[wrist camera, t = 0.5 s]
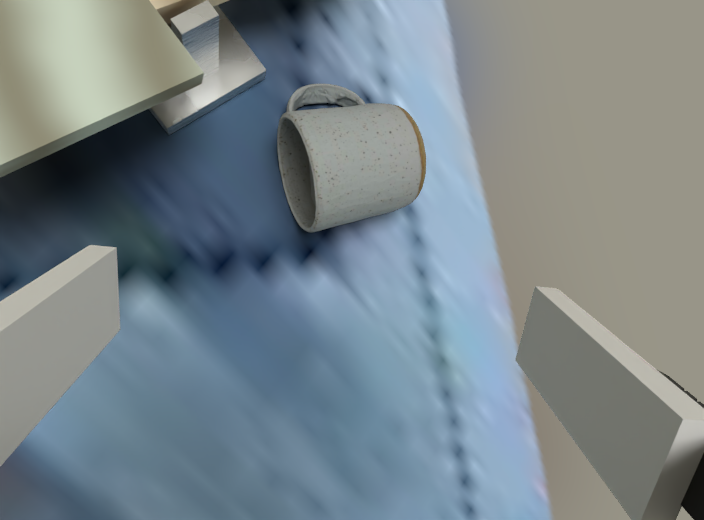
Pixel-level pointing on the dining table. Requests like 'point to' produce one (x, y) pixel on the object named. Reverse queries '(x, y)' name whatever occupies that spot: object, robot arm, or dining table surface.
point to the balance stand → (209, 65)
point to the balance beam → (84, 69)
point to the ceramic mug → (347, 158)
